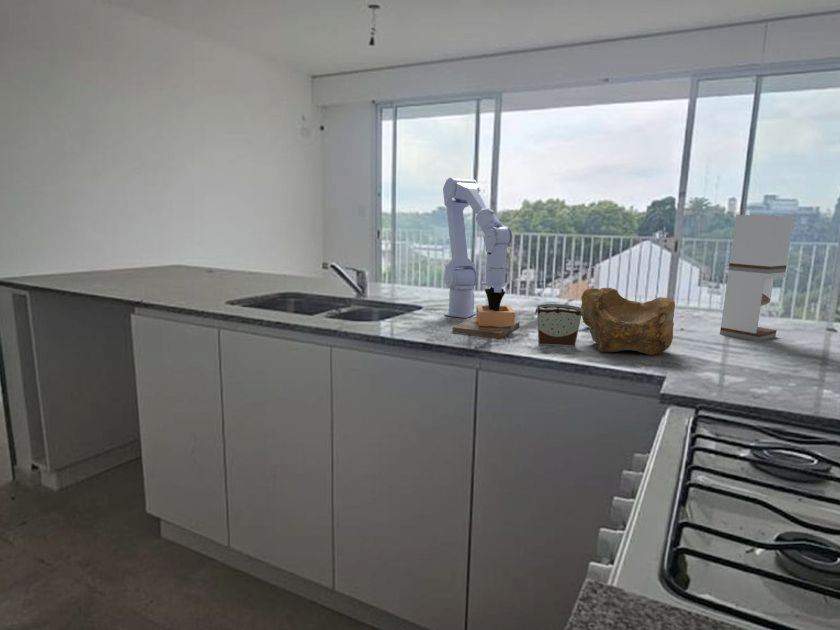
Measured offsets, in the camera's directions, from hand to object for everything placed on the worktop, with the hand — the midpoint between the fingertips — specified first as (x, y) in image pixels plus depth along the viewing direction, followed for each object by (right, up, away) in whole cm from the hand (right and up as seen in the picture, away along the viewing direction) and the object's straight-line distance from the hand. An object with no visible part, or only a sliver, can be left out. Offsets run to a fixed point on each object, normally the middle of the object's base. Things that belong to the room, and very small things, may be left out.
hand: (493, 313), depth 160 cm
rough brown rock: (+29, -10, -24) cm, 39 cm away
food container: (+14, -8, -18) cm, 24 cm away
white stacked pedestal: (+75, -7, -1) cm, 76 cm away
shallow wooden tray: (0, -3, -4) cm, 5 cm away
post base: (-2, -5, -4) cm, 7 cm away
